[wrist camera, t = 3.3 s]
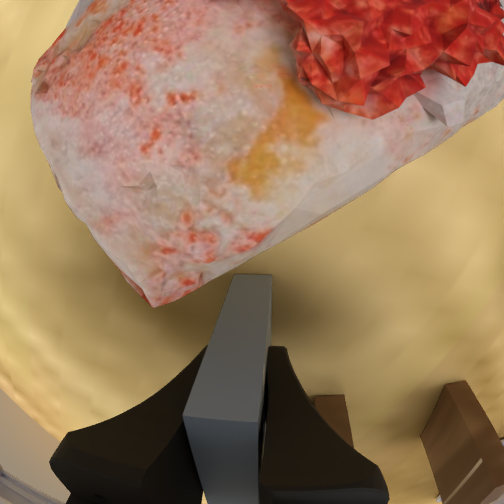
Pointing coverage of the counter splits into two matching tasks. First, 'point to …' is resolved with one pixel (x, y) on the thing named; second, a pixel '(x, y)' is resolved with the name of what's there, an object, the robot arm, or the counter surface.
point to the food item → (248, 118)
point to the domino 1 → (335, 414)
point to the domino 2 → (464, 448)
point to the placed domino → (233, 395)
